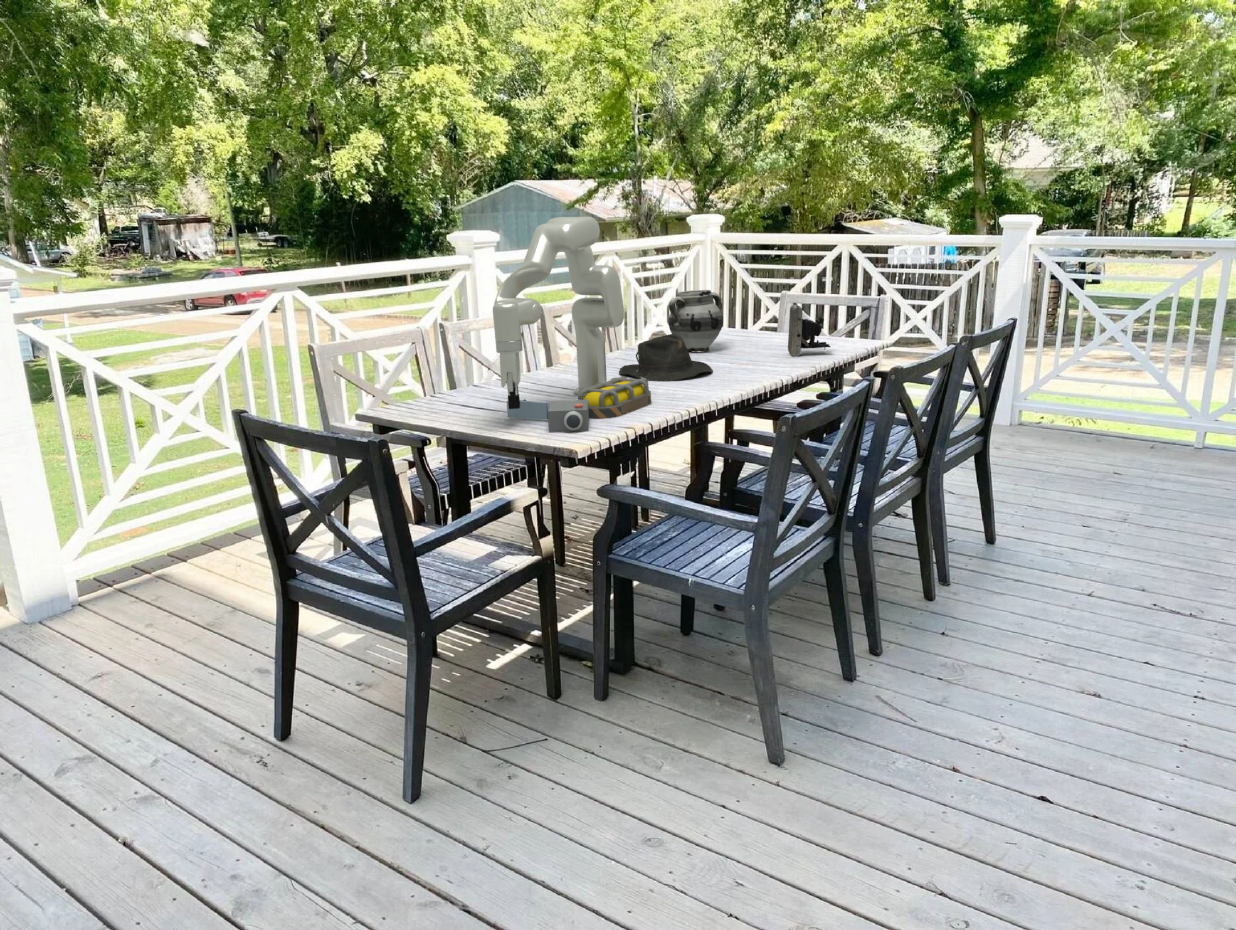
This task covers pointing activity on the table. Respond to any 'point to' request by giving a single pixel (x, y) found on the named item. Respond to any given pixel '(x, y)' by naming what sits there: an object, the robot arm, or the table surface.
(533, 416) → the side door
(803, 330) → the vintage camera
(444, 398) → the table surface
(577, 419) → the camera housing
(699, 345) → the ceramic pot
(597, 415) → the cage light
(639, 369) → the hat
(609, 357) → the table surface
